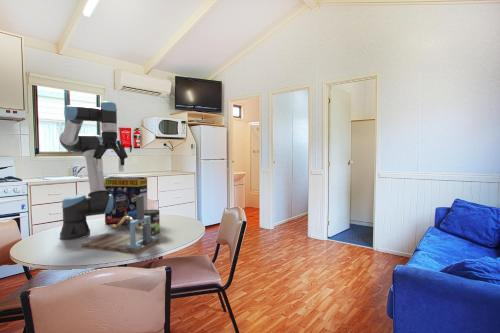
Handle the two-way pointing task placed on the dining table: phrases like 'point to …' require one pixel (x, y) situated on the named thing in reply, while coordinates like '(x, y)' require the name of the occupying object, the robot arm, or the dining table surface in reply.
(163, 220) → the dining table surface
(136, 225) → the buzz wire
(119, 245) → the board
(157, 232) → the coffee can
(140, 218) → the grey frame
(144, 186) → the cereal box
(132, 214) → the blue rounded piece
